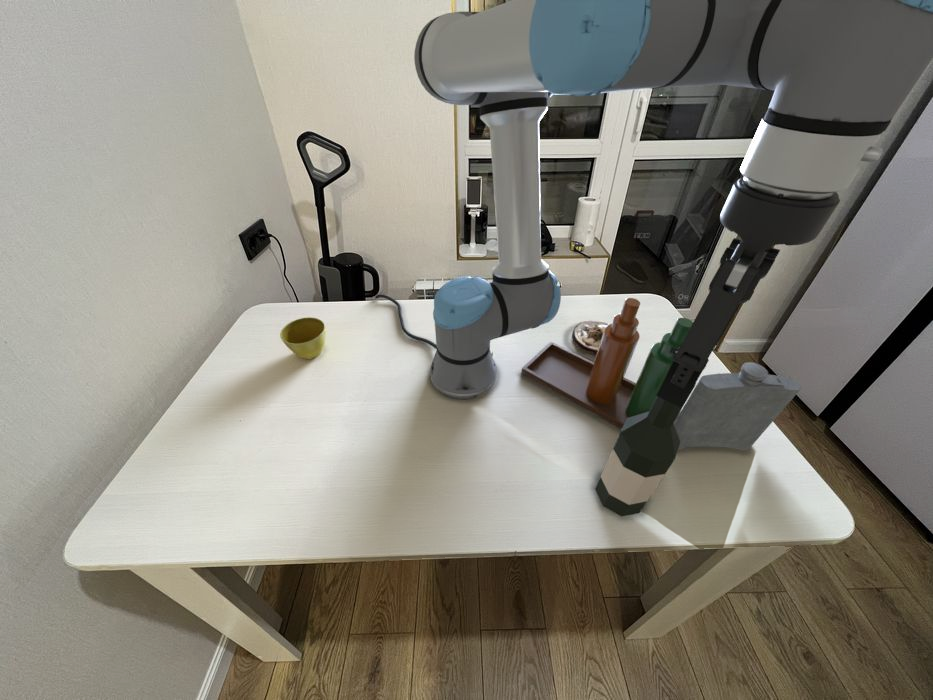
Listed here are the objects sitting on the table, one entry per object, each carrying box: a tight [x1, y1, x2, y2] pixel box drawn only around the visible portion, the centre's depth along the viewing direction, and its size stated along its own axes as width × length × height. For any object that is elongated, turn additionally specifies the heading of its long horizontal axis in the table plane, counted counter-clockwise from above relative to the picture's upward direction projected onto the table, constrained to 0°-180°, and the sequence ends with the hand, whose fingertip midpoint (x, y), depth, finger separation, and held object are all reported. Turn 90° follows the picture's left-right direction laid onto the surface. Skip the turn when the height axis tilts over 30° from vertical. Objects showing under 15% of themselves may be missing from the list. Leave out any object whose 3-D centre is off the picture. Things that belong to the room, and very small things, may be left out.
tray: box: [520, 341, 636, 430], centre depth 83 cm, size 32×13×2 cm, turn 49°
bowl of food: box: [571, 320, 609, 356], centre depth 95 cm, size 15×15×4 cm
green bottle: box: [625, 317, 694, 418], centre depth 70 cm, size 6×6×24 cm
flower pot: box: [279, 316, 327, 360], centre depth 92 cm, size 10×10×7 cm
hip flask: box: [673, 361, 802, 451], centre depth 67 cm, size 16×4×20 cm, turn 88°
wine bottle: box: [594, 382, 697, 517], centre depth 56 cm, size 8×8×30 cm
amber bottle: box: [586, 297, 641, 404], centre depth 75 cm, size 6×6×24 cm
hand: (689, 367), depth 45 cm, fingers open, 13 cm apart
